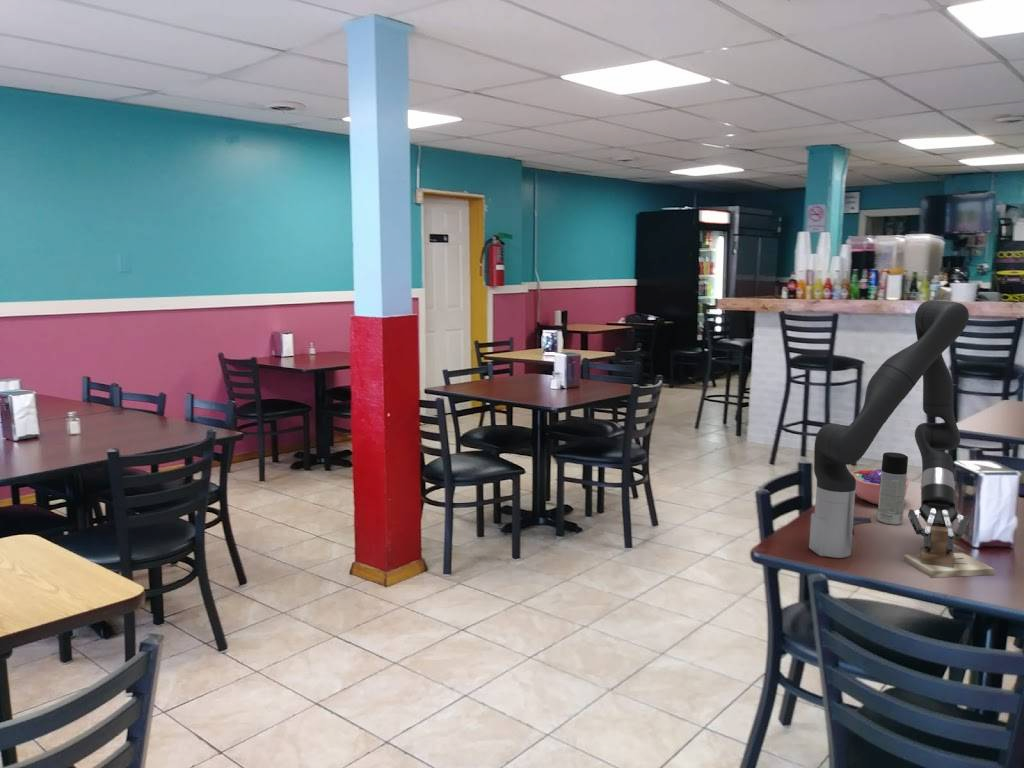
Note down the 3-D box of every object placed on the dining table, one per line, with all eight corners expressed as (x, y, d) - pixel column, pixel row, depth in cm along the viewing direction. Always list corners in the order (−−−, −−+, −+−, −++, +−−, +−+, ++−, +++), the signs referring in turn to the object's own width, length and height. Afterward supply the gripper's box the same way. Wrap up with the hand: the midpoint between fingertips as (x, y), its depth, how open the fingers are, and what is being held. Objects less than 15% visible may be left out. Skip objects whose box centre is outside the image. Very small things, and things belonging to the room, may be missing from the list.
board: (931, 577, 186) (931, 571, 186) (903, 560, 197) (903, 554, 196) (993, 574, 188) (994, 568, 188) (962, 558, 199) (962, 552, 198)
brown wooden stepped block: (921, 563, 191) (924, 529, 189) (919, 556, 195) (922, 523, 194) (953, 567, 188) (957, 533, 187) (951, 560, 193) (954, 527, 191)
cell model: (911, 498, 251) (914, 464, 249) (904, 514, 234) (907, 478, 233) (854, 490, 260) (856, 457, 258) (843, 505, 243) (846, 470, 241)
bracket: (823, 535, 217) (823, 525, 217) (817, 518, 232) (817, 509, 231) (879, 540, 214) (880, 530, 213) (869, 523, 228) (870, 514, 228)
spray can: (896, 518, 231) (901, 451, 228) (907, 525, 224) (912, 457, 221) (873, 517, 231) (878, 451, 228) (883, 525, 224) (888, 457, 221)
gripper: (908, 479, 199) (907, 540, 189) (972, 485, 193) (974, 548, 184) (905, 494, 204) (904, 554, 195) (967, 500, 199) (969, 562, 189)
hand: (938, 551), depth 189 cm, fingers closed on brown wooden stepped block, 3 cm apart
